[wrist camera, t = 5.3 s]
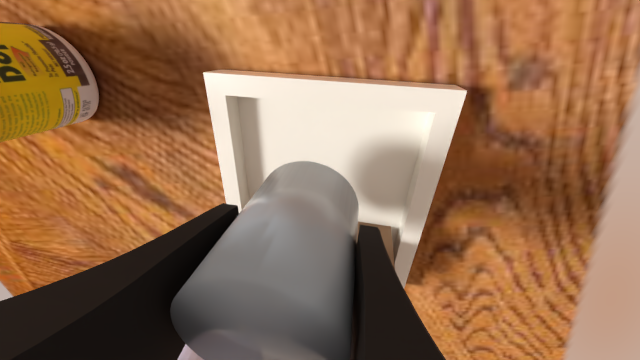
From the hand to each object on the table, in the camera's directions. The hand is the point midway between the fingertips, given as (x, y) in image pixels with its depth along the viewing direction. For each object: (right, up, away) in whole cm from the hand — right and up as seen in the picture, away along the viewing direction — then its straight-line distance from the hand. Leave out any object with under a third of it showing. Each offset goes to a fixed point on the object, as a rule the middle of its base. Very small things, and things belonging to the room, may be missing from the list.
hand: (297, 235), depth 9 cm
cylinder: (0, +1, +2) cm, 2 cm away
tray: (+1, +1, +7) cm, 7 cm away
